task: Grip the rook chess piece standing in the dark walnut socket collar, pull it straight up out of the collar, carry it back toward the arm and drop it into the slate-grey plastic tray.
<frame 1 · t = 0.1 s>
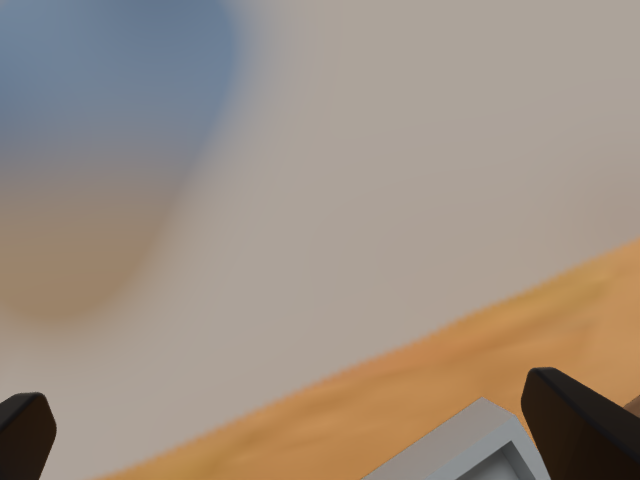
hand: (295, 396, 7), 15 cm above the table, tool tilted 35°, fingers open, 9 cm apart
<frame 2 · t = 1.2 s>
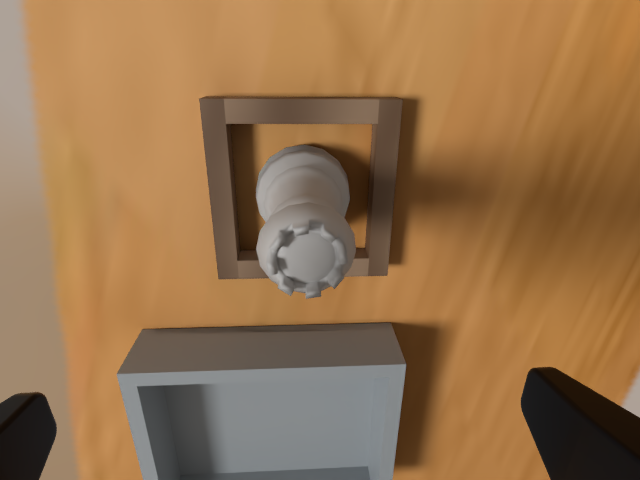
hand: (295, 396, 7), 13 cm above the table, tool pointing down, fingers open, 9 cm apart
socket collar: (302, 189, 19), on the table
rook chess piece: (302, 187, 20), resting in socket collar
tray: (272, 405, 25), on the table
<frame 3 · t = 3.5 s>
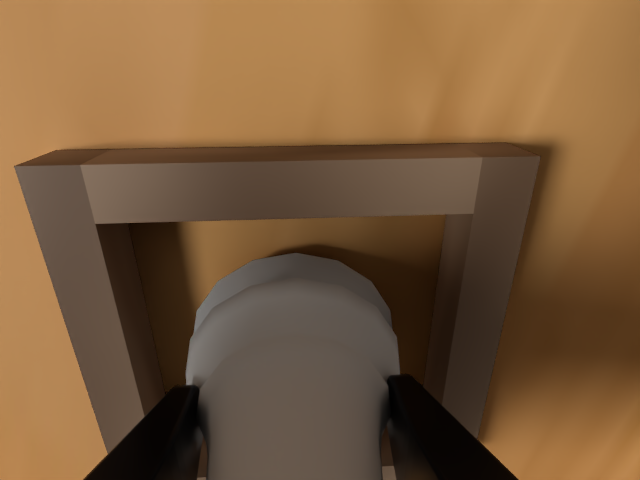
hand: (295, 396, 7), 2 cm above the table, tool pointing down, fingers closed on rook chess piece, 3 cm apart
socket collar: (294, 329, 9), on the table
rook chess piece: (294, 324, 9), resting in socket collar, touching gripper
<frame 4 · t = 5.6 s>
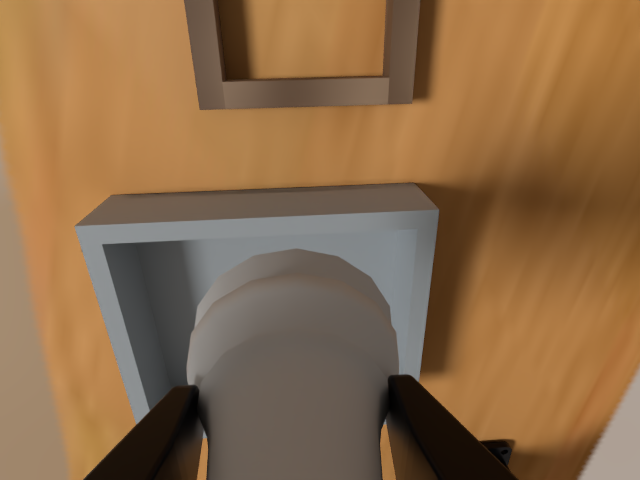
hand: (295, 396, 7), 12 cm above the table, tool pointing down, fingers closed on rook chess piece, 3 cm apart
rook chess piece: (294, 320, 10), point 10 cm above the table, touching gripper
tray: (274, 297, 21), on the table
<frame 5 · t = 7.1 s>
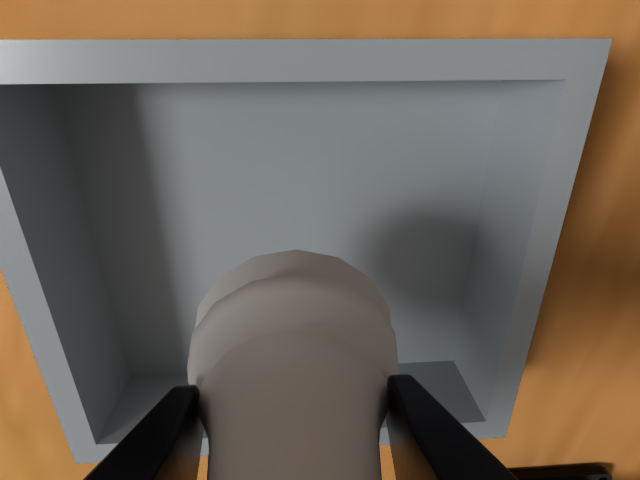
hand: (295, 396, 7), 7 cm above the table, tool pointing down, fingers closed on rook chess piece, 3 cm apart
rook chess piece: (294, 320, 10), point 5 cm above the table, touching gripper
tray: (290, 238, 14), on the table
when the fingers open (5 cm above the table, at t = 8.2 s): rook chess piece drops 2 cm, resting on tray.
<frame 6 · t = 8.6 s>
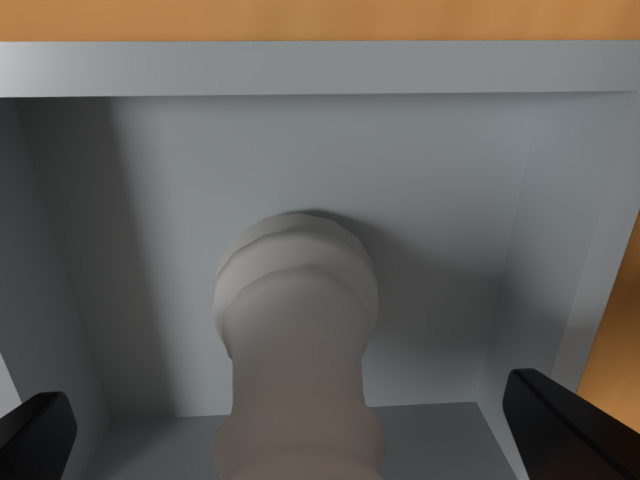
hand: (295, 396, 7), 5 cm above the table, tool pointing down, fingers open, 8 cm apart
rook chess piece: (295, 276, 12), resting on tray
tray: (293, 268, 12), on the table
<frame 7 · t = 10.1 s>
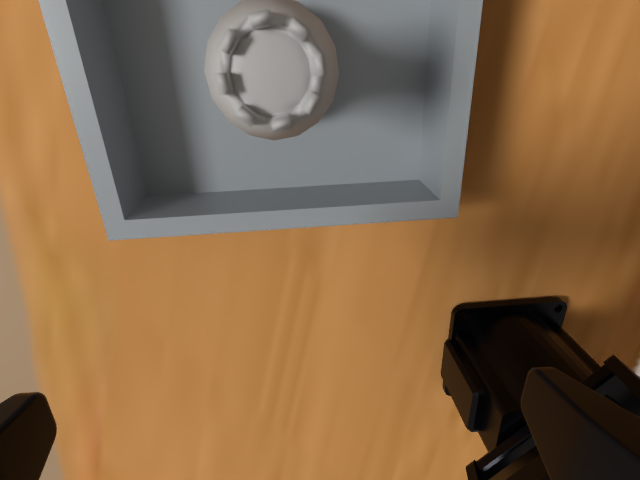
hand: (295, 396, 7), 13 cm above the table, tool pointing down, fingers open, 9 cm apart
rook chess piece: (277, 64, 16), resting on tray
tray: (276, 63, 17), on the table
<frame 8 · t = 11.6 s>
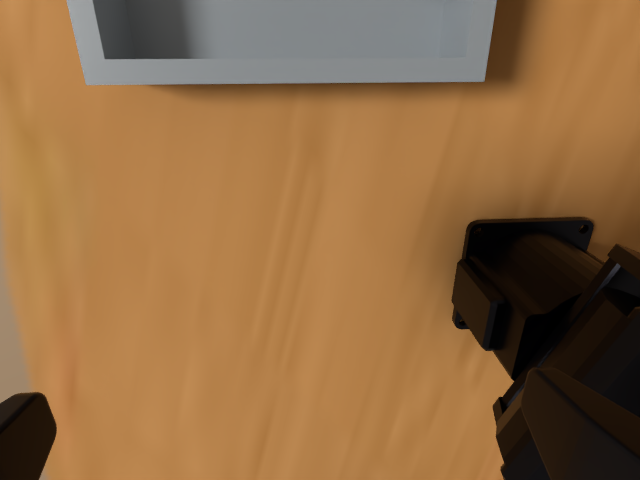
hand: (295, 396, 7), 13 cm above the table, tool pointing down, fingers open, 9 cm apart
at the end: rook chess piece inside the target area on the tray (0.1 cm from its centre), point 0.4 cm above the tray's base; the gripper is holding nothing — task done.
